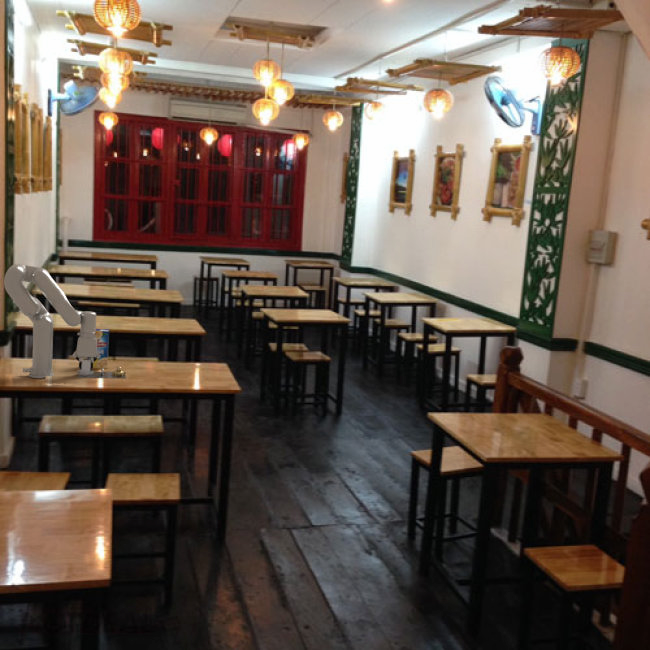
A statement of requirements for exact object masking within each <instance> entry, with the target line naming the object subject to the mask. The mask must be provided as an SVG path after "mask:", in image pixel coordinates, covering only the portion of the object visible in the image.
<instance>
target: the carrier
mask: <svg viewBox="0 0 650 650" xmlns="http://www.w3.org/2000/svg"><path fill="white" fill-rule="evenodd" d="M126 374H127V372H126V371H125V370H123V369H122V366H116V369H115V370H114V371H113V370H112V371H105V369H104V368H100V371H94V374H93V375H91V376H84V375H80V374H78V373H77V376H78V378H79V379H124V380H125V379H127V375H126Z"/></svg>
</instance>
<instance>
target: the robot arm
mask: <svg viewBox="0 0 650 650" xmlns="http://www.w3.org/2000/svg"><path fill="white" fill-rule="evenodd" d="M3 279H4V280H3V285H4V289H5V291H6V293H7V295H8V296H9V297H10V298H11V299H12V300H13V302H14V304H15V305H16V306H17V307H18V309H19V310H20V311H21V313H22V315H24V316H26V317H27V318H28V319H29V320H30V321H31V322H32V324H33V325H32V326H33V327H32V361H31V362H32V366H31V367H29V368H27V367H23V368H22V372H23V373H28V377H30V378H33V379H46V378H47V377H52V376H54V375H55V373H54V372H53V349H54V348H53V342H54V341H53V340H54V339H53V338H54V323H55V322H54V318H53V316H52V315H51V314H50V312H49V311H48V310H47V309H46V308H45V306H44V304H42V302H41V301H40V300H39V299H38V298H37V297H34V296H32V295H31V293H30V292H29V291H28V289H27V288H26V287H25V285H24V284H23V282H26V283H33V284H34V285H35V286H36V287H37V289H38V290H39V291H40V292H41V293H42V294H43V296H44V297H45V298H46V299H47V301H48V302H49V303H50V305H51V306H52V307H53V309H55V311H56V312H57V314H58V315H59V316H60V317H61V318H62V320H63V321H64V322H65V324H67V326H70V327H74V328H75V327H77V326H79V325H80V331H79V332H77V336H79V337H78V339H77V345H76V350H75V351H74V352H73V354H72V357H73V358H74V359H76V361H78V368H79V370H81V369H82V358H87V357H91V366H90V370H91V371H93V370H92V369H94V368H93V363H94V362H95V361H96V360H97V359H98V358H100V357H101V356H100V354H99V353H98V351H97V339H96V338H95V331H96V329H97V328H96V327H97V326H96V325H97V312H94V311H83V310H77V309H75V308H74V307H73V306H72V305H71V303H70V302H69V300H68V298H67V296H66V294H65V293H64V291H63V290H62V288H61V287H60V286H59V284H57V282H56V281H55V280H54V278H53V277H52V276H51V275H50V272H49V271H48V270H47V269H46V268H43V267H37V266H31V265H28V264H23V263H15V264H12V265H11V266H10V267H9V268H8V269H7V271H6V272H5V275H4V278H3ZM96 356H97V357H96ZM93 357H95V358H94V359H93Z"/></svg>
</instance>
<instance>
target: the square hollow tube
mask: <svg viewBox="0 0 650 650" xmlns="http://www.w3.org/2000/svg"><path fill="white" fill-rule="evenodd" d="M81 361H82V369H81V370H80V369H78V370H77V375H78V374H80V375H84V376H91V375H93V374H94V372H95V371H94V370H90V366H91V359H87V358H84V357H82V360H81Z"/></svg>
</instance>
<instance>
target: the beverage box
mask: <svg viewBox="0 0 650 650" xmlns="http://www.w3.org/2000/svg"><path fill="white" fill-rule="evenodd" d="M95 338H96V339H97V351H98V353H99V354H100V356H101V357H100V358H98V359H97V360H96V361H95V362H94V363H93V368H92V369H104V370H105V369H106V370H107V369H108V365H109V363H108V362H109V360H108V359H109V344H110V343H109V341H110V329H108V328H107V329H105V328H96V331H95ZM96 357H97V356H96ZM94 358H95V357H93V359H94ZM86 359H91V357H86Z"/></svg>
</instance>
